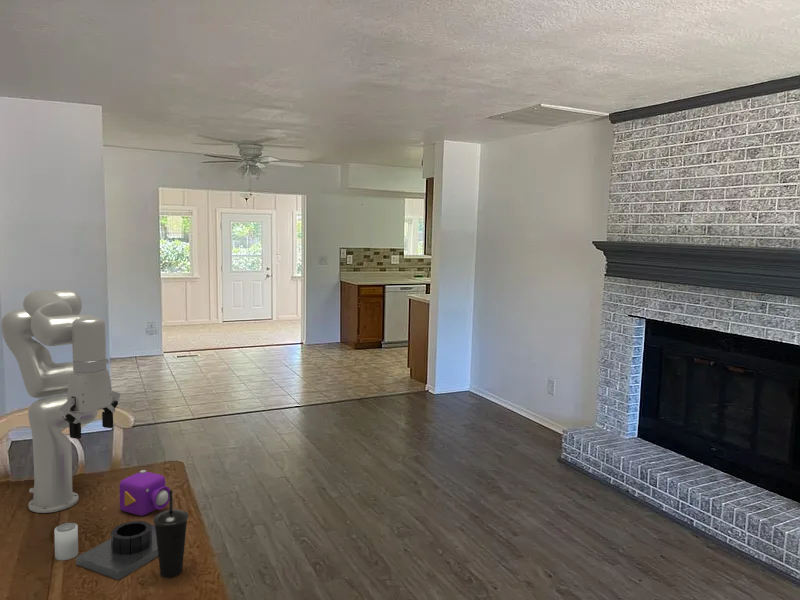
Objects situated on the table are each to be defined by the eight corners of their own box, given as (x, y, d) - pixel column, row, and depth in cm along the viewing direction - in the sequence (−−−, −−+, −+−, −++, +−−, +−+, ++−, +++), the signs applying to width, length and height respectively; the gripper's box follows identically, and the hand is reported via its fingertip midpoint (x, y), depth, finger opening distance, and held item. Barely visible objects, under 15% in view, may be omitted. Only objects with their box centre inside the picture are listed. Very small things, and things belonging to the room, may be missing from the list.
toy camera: (157, 521, 166) (157, 486, 165) (114, 514, 169) (113, 480, 168) (179, 504, 177) (179, 471, 176) (138, 498, 179) (137, 466, 178)
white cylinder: (50, 557, 146) (49, 528, 145) (69, 547, 151) (68, 520, 150) (64, 562, 144) (63, 533, 143) (82, 552, 149) (82, 524, 148)
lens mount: (76, 564, 143) (75, 540, 142) (143, 528, 161) (142, 507, 161) (118, 580, 137) (118, 555, 137) (182, 541, 156) (182, 519, 155)
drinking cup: (177, 559, 147) (177, 481, 145) (194, 571, 142) (194, 490, 140) (147, 572, 141) (146, 491, 139) (164, 585, 136) (164, 501, 134)
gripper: (107, 359, 161) (109, 422, 162) (48, 371, 145) (50, 440, 146) (128, 361, 158) (130, 425, 159) (70, 374, 142) (73, 444, 143)
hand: (92, 432), depth 153 cm, fingers open, 9 cm apart
